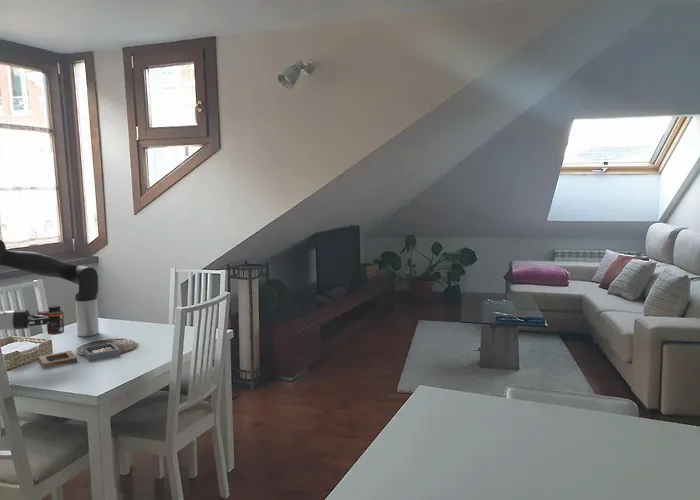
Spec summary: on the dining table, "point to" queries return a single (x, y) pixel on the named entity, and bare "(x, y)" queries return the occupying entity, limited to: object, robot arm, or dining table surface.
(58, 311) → the supplement bottle
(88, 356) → the parts tray
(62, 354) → the walnut holder
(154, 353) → the dining table surface
